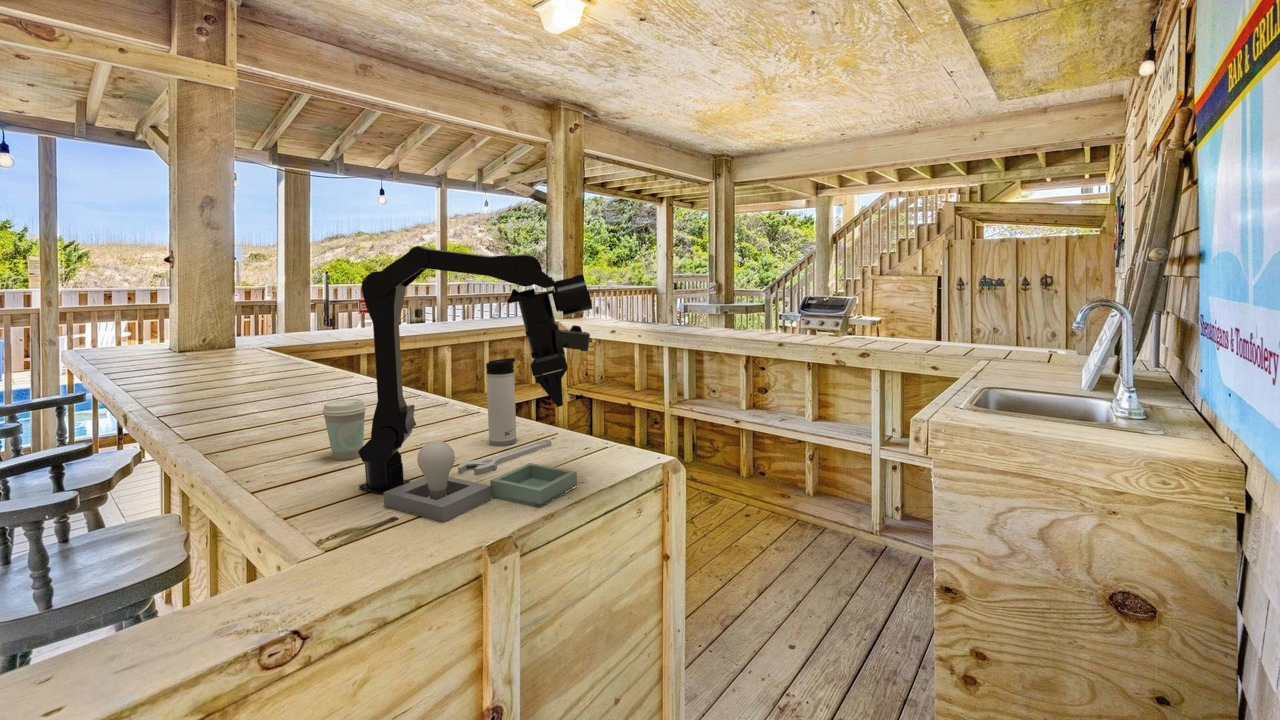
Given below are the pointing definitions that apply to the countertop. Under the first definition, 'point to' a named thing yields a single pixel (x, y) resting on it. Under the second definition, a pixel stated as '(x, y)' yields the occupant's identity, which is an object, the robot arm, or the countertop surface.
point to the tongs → (353, 533)
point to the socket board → (443, 509)
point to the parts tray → (533, 484)
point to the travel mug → (501, 402)
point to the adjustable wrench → (500, 458)
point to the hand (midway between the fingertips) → (559, 400)
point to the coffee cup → (345, 427)
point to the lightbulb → (436, 466)
